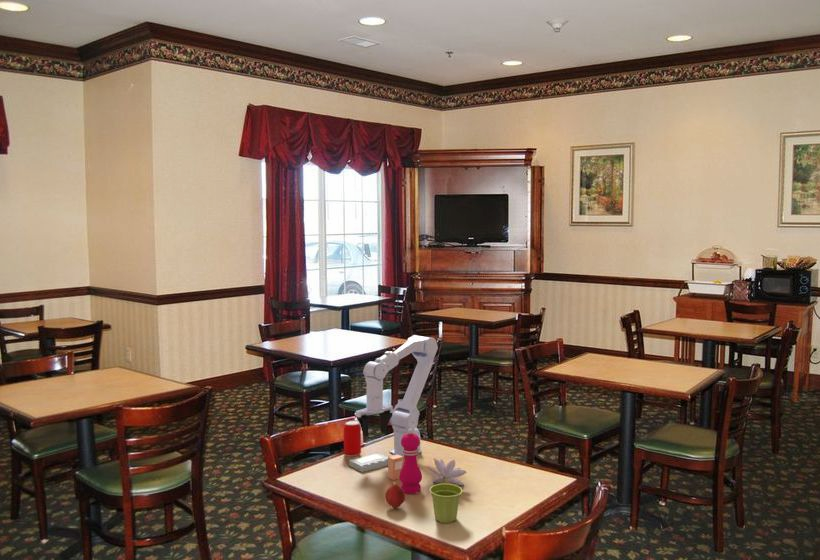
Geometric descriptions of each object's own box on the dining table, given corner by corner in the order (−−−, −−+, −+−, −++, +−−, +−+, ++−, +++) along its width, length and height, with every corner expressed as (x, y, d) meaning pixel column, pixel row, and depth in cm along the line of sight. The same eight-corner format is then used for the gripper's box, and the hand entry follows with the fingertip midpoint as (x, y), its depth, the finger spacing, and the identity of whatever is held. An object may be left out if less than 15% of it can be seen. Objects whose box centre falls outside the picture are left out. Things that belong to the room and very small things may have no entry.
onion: (394, 502, 210) (394, 477, 210) (408, 507, 207) (408, 481, 206) (381, 508, 206) (381, 482, 205) (396, 514, 202) (396, 487, 202)
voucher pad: (377, 458, 250) (377, 452, 250) (390, 464, 244) (390, 458, 243) (349, 465, 243) (349, 459, 242) (362, 472, 236) (362, 466, 236)
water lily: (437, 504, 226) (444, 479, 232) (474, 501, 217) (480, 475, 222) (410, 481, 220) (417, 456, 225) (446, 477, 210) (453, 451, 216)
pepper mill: (422, 486, 223) (422, 425, 222) (421, 495, 216) (420, 432, 214) (400, 485, 224) (400, 425, 222) (398, 494, 217) (397, 431, 215)
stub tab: (397, 474, 234) (397, 454, 233) (403, 477, 231) (403, 456, 231) (388, 477, 231) (387, 456, 231) (393, 480, 229) (393, 459, 228)
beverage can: (341, 453, 256) (341, 421, 255) (357, 451, 258) (357, 419, 257) (347, 458, 250) (346, 426, 249) (363, 456, 253) (363, 423, 252)
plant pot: (460, 511, 204) (460, 483, 203) (464, 525, 194) (464, 495, 194) (428, 512, 203) (428, 483, 203) (430, 526, 194) (430, 496, 193)
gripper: (363, 401, 236) (363, 440, 237) (398, 395, 245) (397, 433, 246) (352, 397, 242) (352, 435, 243) (386, 391, 250) (386, 428, 251)
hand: (374, 434), depth 245 cm, fingers open, 7 cm apart
